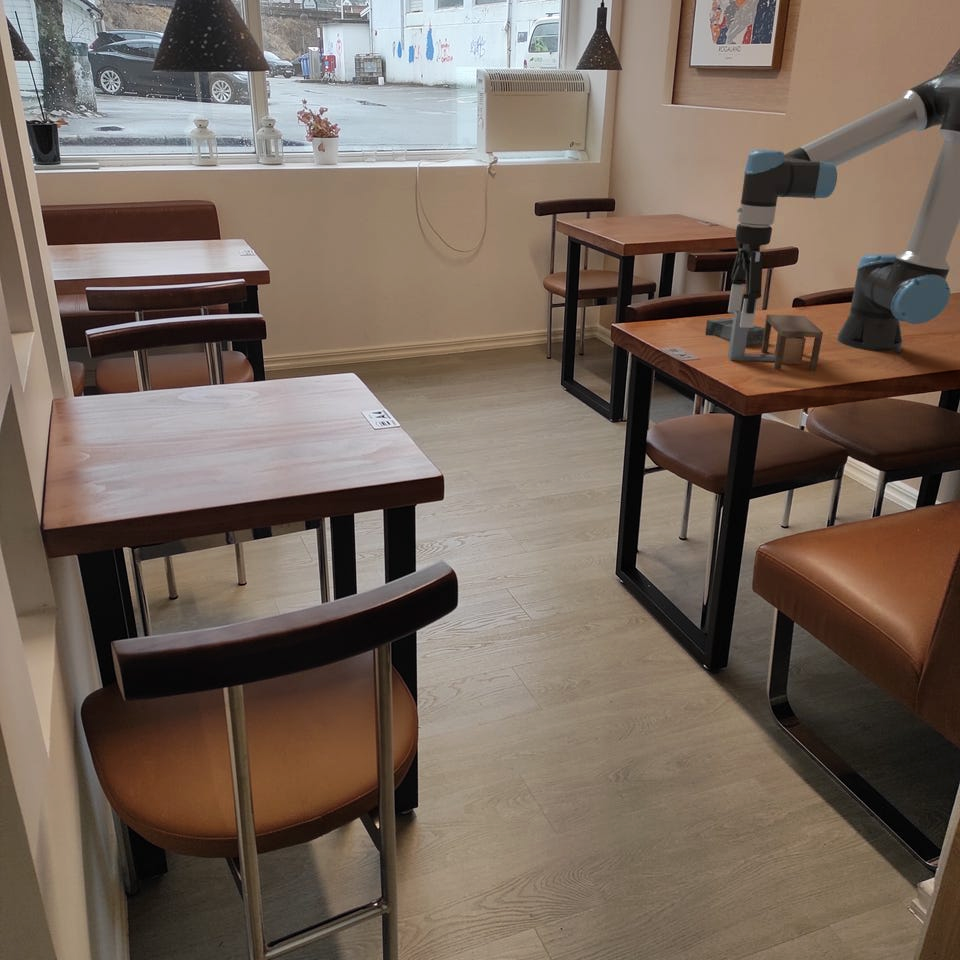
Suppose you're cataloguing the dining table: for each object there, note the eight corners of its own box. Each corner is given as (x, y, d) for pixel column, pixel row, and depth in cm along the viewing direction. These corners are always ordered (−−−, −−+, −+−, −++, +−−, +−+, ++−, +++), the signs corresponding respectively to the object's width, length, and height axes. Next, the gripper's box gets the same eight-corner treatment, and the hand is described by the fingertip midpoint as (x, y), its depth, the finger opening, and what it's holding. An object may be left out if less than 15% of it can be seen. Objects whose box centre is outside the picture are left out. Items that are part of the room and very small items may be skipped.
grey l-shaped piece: (795, 357, 212) (803, 311, 208) (801, 364, 208) (809, 317, 203) (727, 355, 213) (733, 309, 209) (731, 361, 209) (738, 314, 204)
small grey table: (797, 357, 217) (805, 315, 213) (814, 376, 204) (823, 332, 200) (760, 356, 218) (766, 314, 213) (774, 374, 204) (781, 330, 200)
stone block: (731, 334, 236) (734, 315, 234) (769, 349, 225) (773, 328, 223) (704, 337, 233) (707, 317, 231) (741, 352, 221) (745, 331, 219)
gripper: (726, 215, 210) (713, 305, 218) (750, 233, 187) (734, 333, 196) (759, 217, 209) (744, 307, 218) (786, 234, 187) (769, 334, 195)
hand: (739, 319), depth 207 cm, fingers open, 13 cm apart
